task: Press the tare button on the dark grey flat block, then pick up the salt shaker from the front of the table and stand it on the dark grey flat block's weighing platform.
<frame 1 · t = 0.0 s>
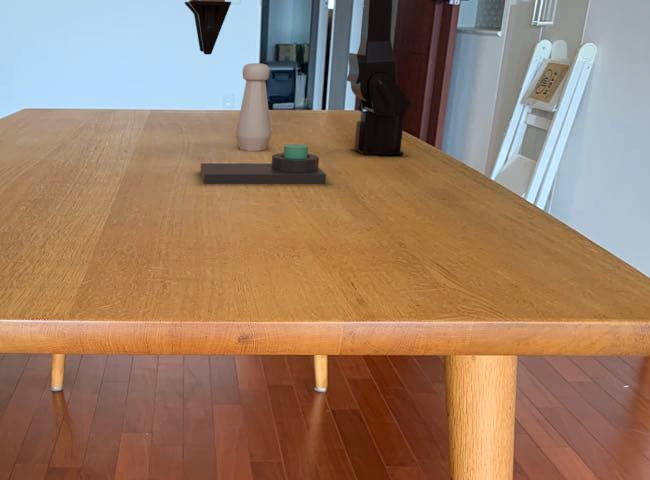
hand: (205, 52, 123), 15 cm above the table, tool pointing down, fingers open, 9 cm apart
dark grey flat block: (261, 179, 109), on the table
salt shaker: (252, 150, 133), on the table
tare button: (295, 152, 108), point 4 cm above the table, slide at 0.1 cm
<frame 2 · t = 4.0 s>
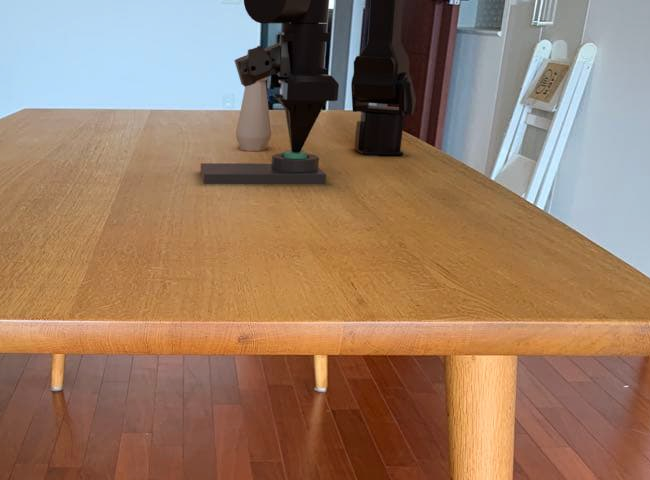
hand: (295, 152, 108), 4 cm above the table, tool pointing down, fingers closed, pressing on tare button
tare button: (295, 158, 109), point 3 cm above the table, slide at -0.7 cm, touching gripper
everything else where it was.
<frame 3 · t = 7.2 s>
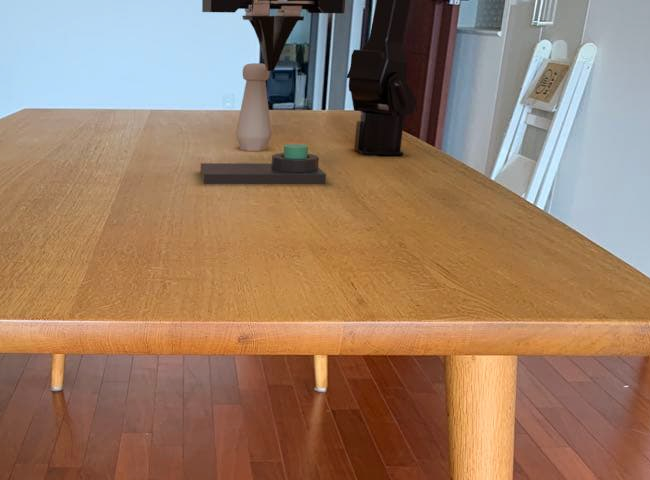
hand: (270, 70, 113), 13 cm above the table, tool pointing down, fingers closed
tare button: (295, 152, 108), point 4 cm above the table, slide at 0.1 cm
everything else where it was.
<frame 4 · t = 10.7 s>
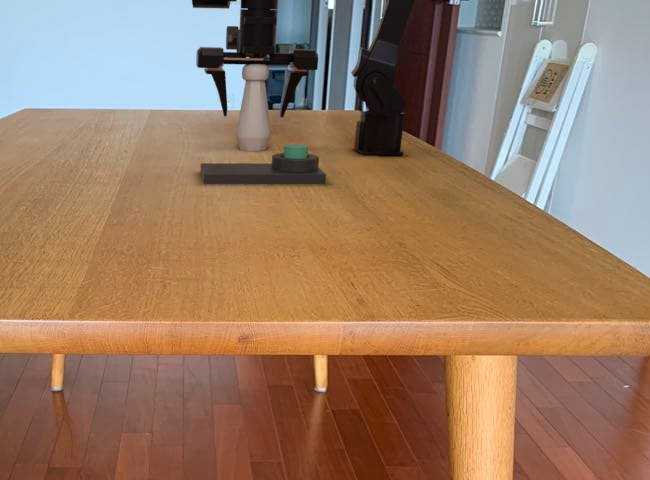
hand: (253, 116, 131), 5 cm above the table, tool pointing down
salt shaker: (252, 150, 133), on the table, touching gripper
everything else where it was.
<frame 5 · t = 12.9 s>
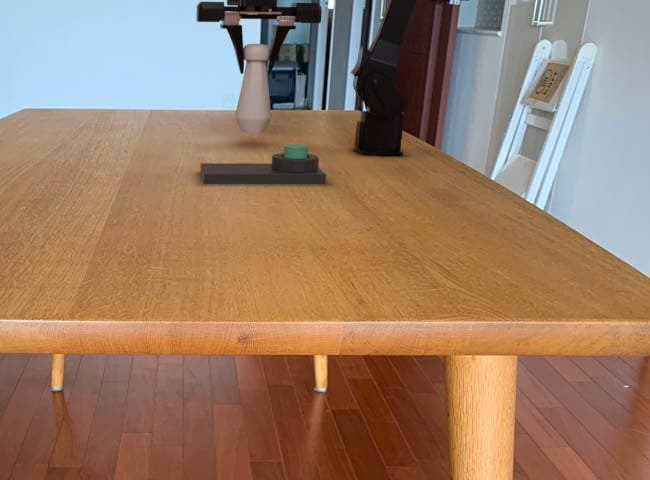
hand: (255, 73, 127), 12 cm above the table, tool pointing down, fingers closed on salt shaker, 4 cm apart
salt shaker: (252, 132, 131), point 3 cm above the table, touching gripper
everything else where it was.
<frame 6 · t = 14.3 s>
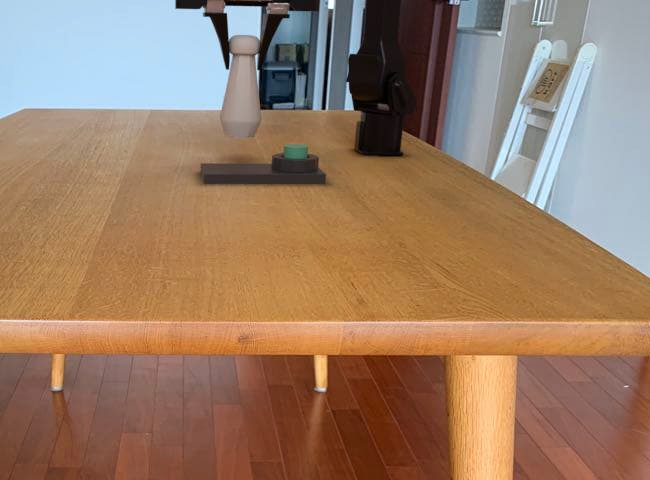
hand: (243, 69, 110), 13 cm above the table, tool pointing down, fingers closed on salt shaker, 4 cm apart
salt shaker: (239, 137, 114), point 4 cm above the table, touching gripper
everything else where it was.
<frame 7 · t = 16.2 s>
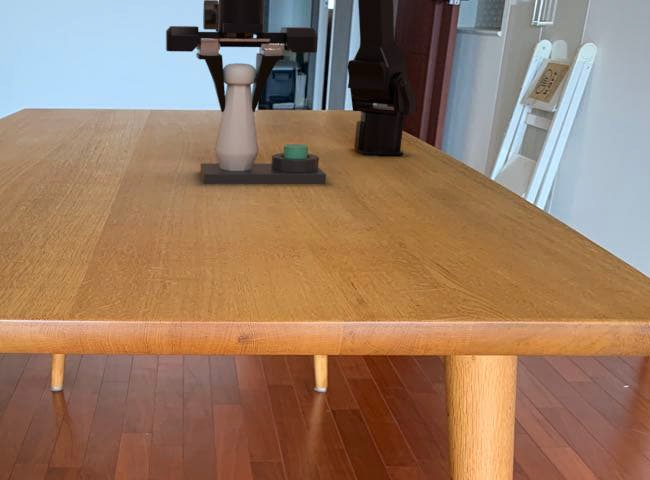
hand: (237, 112, 106), 9 cm above the table, tool pointing down, fingers closed on salt shaker, 4 cm apart
salt shaker: (235, 169, 109), point 1 cm above the table, touching gripper, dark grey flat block
everything else where it was.
when the fingers open (9 cm above the table, at t = 16.4 s): salt shaker stays where it is, resting on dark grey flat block.
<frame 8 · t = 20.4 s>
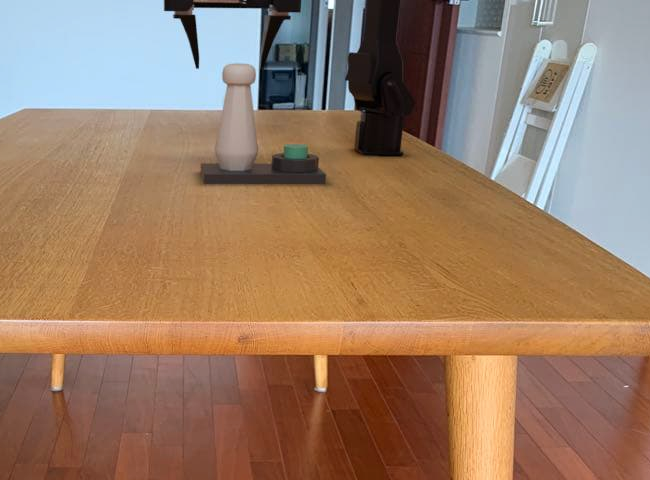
hand: (229, 68, 116), 13 cm above the table, tool pointing down, fingers open, 9 cm apart
salt shaker: (235, 169, 109), point 1 cm above the table, touching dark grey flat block
everything else where it was.
at the end: tare button pushed in 0.9 cm at the most during the clip, back to where it started at the end; salt shaker 0.2 cm from the target spot on the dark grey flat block, point 1.2 cm above the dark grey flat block's base; salt shaker tilted 0° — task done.
